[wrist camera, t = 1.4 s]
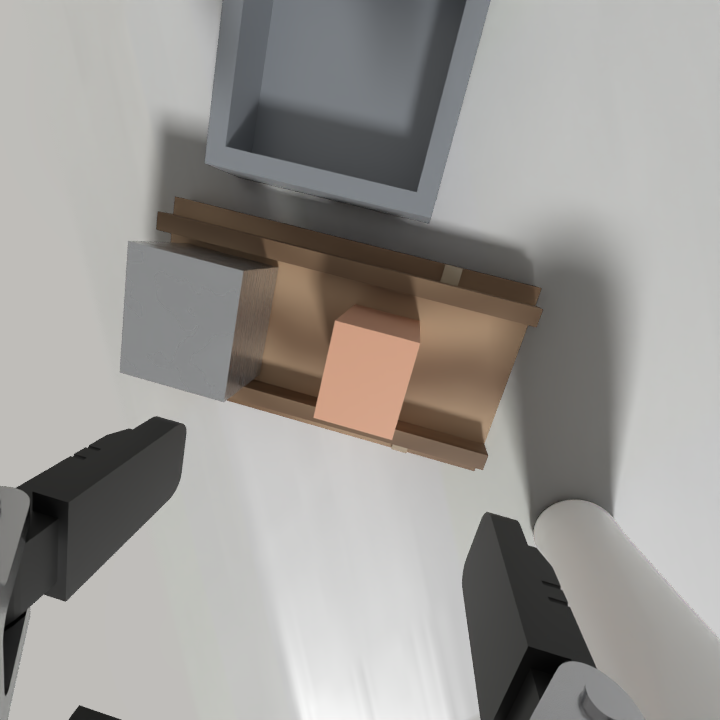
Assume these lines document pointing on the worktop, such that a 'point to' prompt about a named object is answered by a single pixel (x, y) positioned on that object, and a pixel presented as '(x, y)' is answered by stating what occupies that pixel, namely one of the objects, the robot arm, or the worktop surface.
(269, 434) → the worktop surface
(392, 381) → the block
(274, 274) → the block
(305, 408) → the guide board
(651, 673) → the white cylinder
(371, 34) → the tray
